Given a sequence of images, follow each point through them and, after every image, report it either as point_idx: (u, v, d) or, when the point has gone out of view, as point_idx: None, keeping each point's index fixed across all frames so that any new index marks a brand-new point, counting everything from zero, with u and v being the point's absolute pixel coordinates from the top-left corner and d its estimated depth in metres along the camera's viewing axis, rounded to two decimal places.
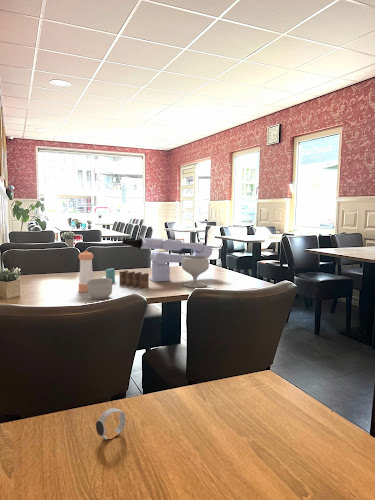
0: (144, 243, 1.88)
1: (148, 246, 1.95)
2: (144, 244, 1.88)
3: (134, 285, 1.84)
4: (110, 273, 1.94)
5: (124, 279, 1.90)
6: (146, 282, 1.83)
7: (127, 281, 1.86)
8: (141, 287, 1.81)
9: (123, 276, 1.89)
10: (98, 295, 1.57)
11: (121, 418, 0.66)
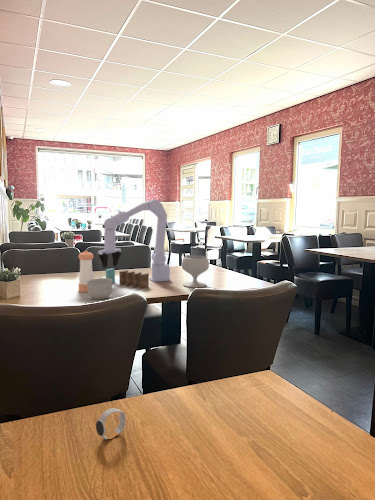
0: (99, 252, 1.88)
1: (108, 244, 1.91)
2: (100, 252, 1.88)
3: (134, 285, 1.84)
4: (110, 273, 1.94)
5: (124, 279, 1.90)
6: (146, 282, 1.83)
7: (127, 281, 1.86)
8: (141, 287, 1.81)
9: (123, 276, 1.89)
10: (98, 295, 1.57)
11: (121, 418, 0.66)
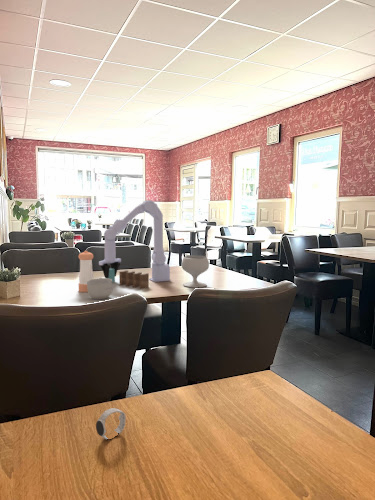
0: (99, 263, 1.89)
1: (108, 254, 1.91)
2: (100, 263, 1.89)
3: (134, 285, 1.84)
4: (110, 273, 1.94)
5: (124, 279, 1.90)
6: (146, 282, 1.83)
7: (127, 281, 1.86)
8: (141, 287, 1.81)
9: (123, 276, 1.89)
10: (98, 295, 1.57)
11: (121, 418, 0.66)
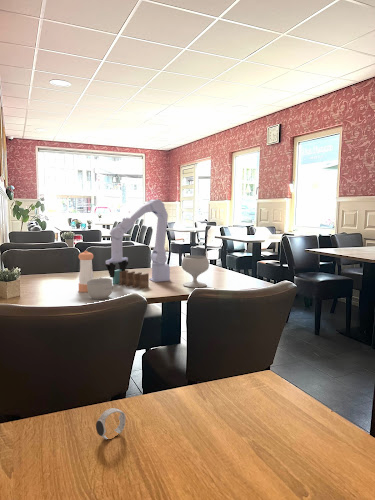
0: (106, 262, 1.86)
1: (115, 253, 1.89)
2: (107, 262, 1.86)
3: (134, 285, 1.84)
4: (117, 274, 1.92)
5: (124, 279, 1.90)
6: (146, 282, 1.83)
7: (127, 281, 1.86)
8: (141, 287, 1.81)
9: (123, 276, 1.89)
10: (98, 295, 1.57)
11: (121, 418, 0.66)
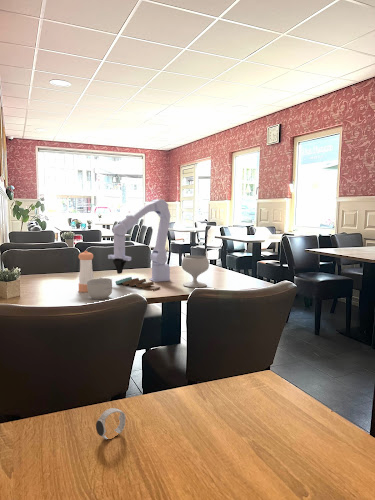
0: (129, 259, 1.86)
1: (124, 250, 1.90)
2: (130, 259, 1.87)
3: (138, 286, 1.83)
4: None
5: None
6: None
7: (133, 284, 1.84)
8: None
9: None
10: (98, 295, 1.57)
11: (121, 418, 0.66)
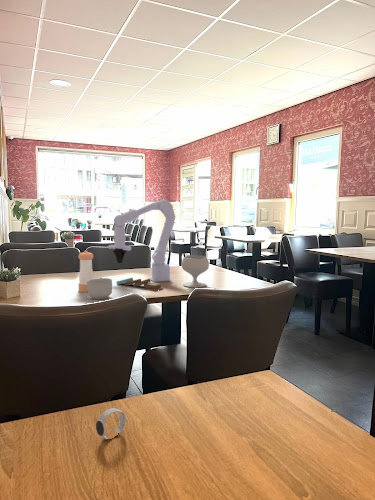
0: (129, 249, 1.92)
1: (124, 240, 1.96)
2: (130, 249, 1.93)
3: (145, 286, 1.81)
4: None
5: None
6: None
7: (137, 284, 1.83)
8: None
9: (133, 283, 1.86)
10: (98, 295, 1.57)
11: (121, 418, 0.66)
